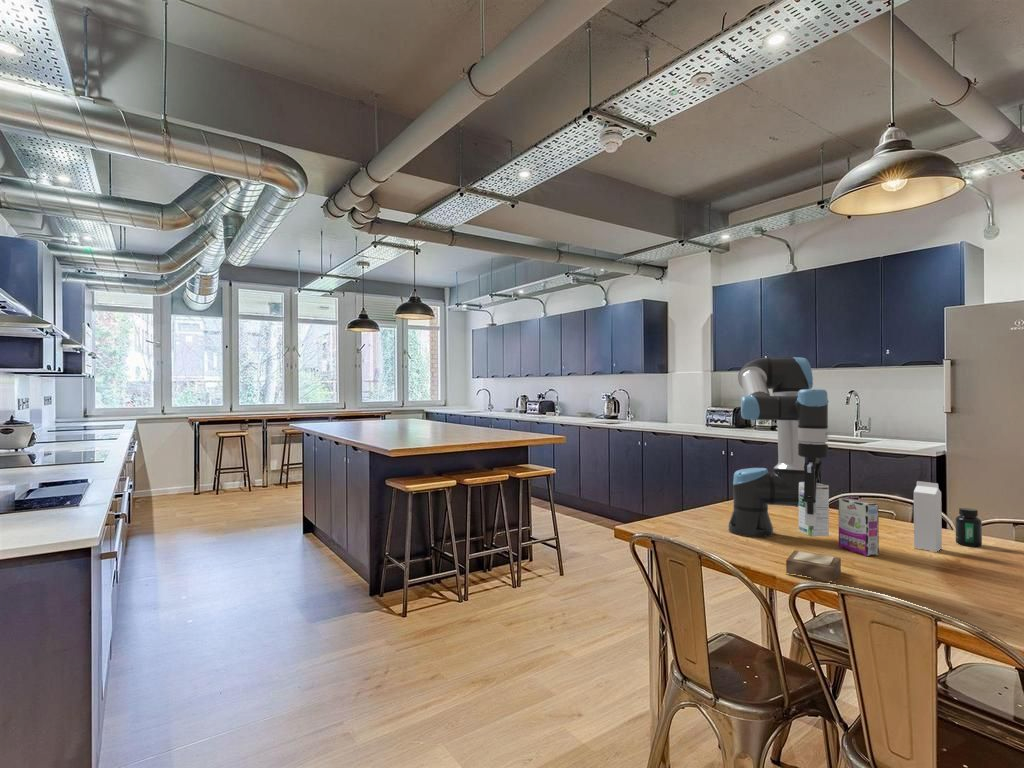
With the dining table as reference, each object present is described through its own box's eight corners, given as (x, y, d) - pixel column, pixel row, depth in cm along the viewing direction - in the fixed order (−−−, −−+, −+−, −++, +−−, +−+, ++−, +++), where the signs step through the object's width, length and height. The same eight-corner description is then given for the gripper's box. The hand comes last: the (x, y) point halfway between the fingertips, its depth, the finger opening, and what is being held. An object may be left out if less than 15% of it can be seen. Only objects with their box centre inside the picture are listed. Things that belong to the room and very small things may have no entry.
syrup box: (797, 531, 158) (797, 481, 158) (816, 531, 158) (816, 481, 158) (810, 536, 152) (809, 484, 152) (830, 536, 152) (829, 484, 153)
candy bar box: (880, 555, 172) (879, 503, 172) (867, 556, 170) (867, 504, 171) (849, 546, 182) (849, 497, 183) (837, 547, 181) (837, 497, 181)
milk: (936, 553, 175) (935, 484, 175) (913, 548, 180) (913, 481, 180) (942, 549, 178) (941, 482, 179) (920, 545, 183) (919, 480, 183)
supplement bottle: (974, 548, 180) (973, 512, 180) (951, 543, 186) (950, 508, 186) (986, 546, 182) (986, 510, 182) (963, 541, 189) (963, 506, 189)
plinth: (786, 574, 154) (786, 559, 154) (794, 563, 163) (794, 549, 163) (835, 583, 147) (835, 567, 147) (840, 571, 156) (840, 556, 156)
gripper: (822, 446, 145) (822, 532, 145) (832, 441, 161) (833, 518, 161) (791, 444, 150) (791, 527, 149) (804, 439, 166) (805, 514, 166)
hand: (813, 522), depth 155 cm, fingers closed on syrup box, 8 cm apart
